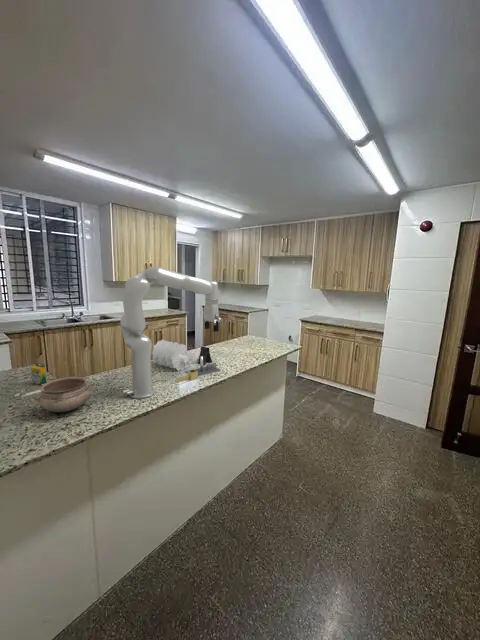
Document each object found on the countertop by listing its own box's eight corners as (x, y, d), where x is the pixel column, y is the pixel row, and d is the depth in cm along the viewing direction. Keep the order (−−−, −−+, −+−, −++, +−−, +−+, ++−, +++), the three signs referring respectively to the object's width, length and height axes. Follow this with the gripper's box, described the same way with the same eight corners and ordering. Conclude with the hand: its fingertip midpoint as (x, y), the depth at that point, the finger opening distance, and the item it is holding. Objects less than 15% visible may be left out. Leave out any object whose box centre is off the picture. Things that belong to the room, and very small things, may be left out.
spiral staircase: (180, 378, 173) (154, 369, 185) (197, 361, 185) (171, 353, 197) (172, 357, 163) (144, 348, 176) (190, 340, 175) (163, 333, 188)
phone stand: (203, 366, 186) (203, 349, 184) (197, 364, 190) (197, 347, 188) (212, 362, 193) (212, 346, 191) (206, 361, 197) (206, 345, 195)
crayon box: (32, 383, 150) (29, 363, 148) (37, 381, 153) (35, 362, 151) (41, 385, 148) (39, 365, 146) (47, 383, 151) (45, 363, 149)
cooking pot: (89, 394, 139) (88, 371, 137) (103, 407, 126) (101, 382, 124) (28, 410, 121) (26, 385, 119) (37, 427, 108) (34, 399, 106)
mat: (193, 378, 164) (193, 377, 164) (184, 372, 173) (183, 371, 173) (221, 370, 177) (221, 370, 177) (211, 365, 186) (211, 365, 186)
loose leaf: (178, 384, 154) (178, 376, 153) (175, 381, 157) (175, 373, 156) (197, 379, 162) (197, 371, 161) (193, 376, 165) (194, 368, 164)
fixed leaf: (201, 372, 173) (201, 357, 171) (199, 370, 175) (199, 356, 173) (217, 368, 181) (217, 354, 179) (214, 367, 183) (214, 353, 181)
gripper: (198, 301, 165) (198, 328, 168) (214, 303, 152) (214, 333, 155) (208, 300, 170) (208, 327, 173) (225, 303, 157) (225, 331, 160)
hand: (211, 330), depth 164 cm, fingers open, 9 cm apart
